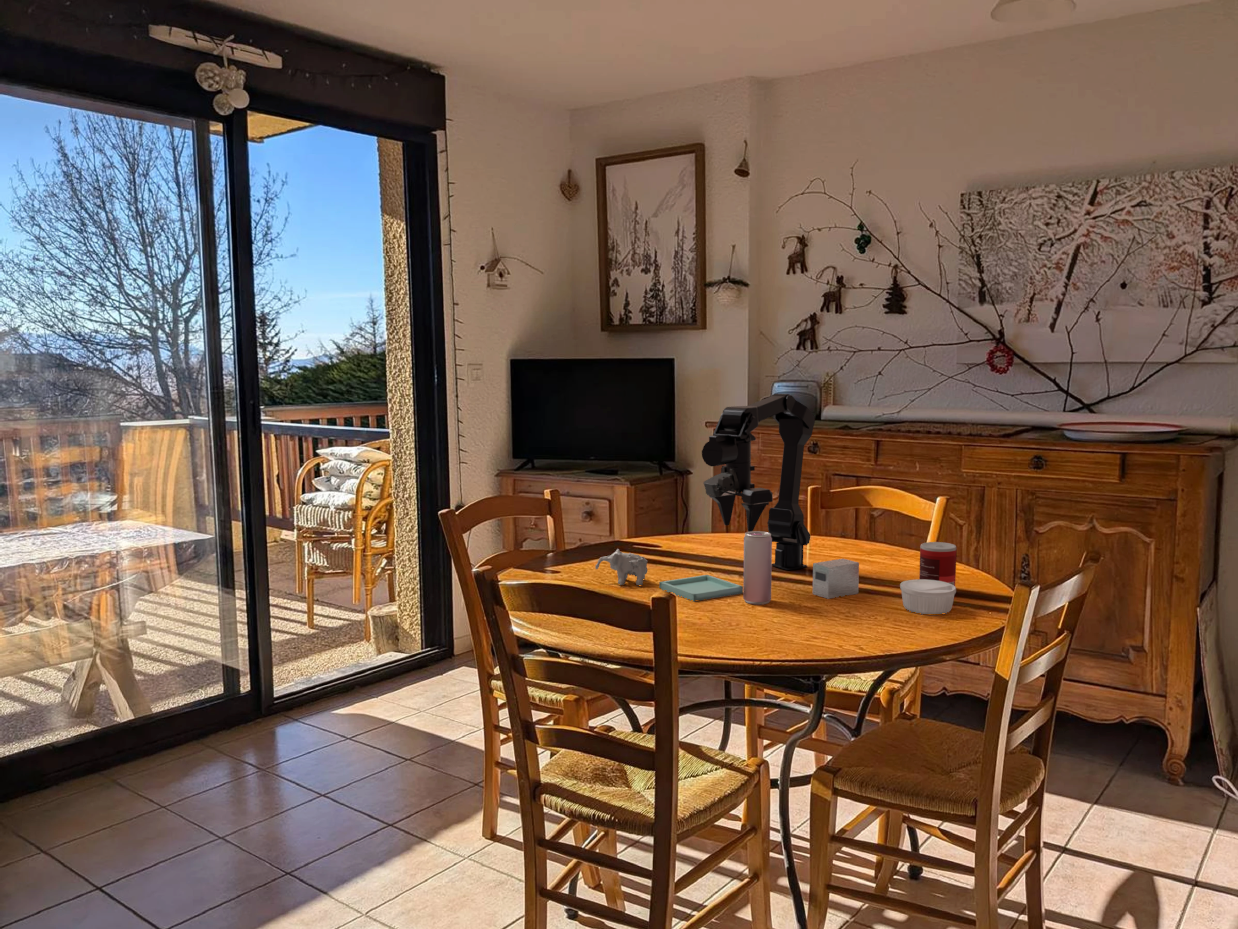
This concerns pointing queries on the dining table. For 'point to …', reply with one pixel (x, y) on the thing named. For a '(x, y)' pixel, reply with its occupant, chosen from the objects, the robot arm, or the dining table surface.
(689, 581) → the tray
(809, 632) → the dining table surface
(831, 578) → the block
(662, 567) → the dining table surface
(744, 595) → the beverage can
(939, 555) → the canned food
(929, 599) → the ramekin
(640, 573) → the gray elephant figurine
